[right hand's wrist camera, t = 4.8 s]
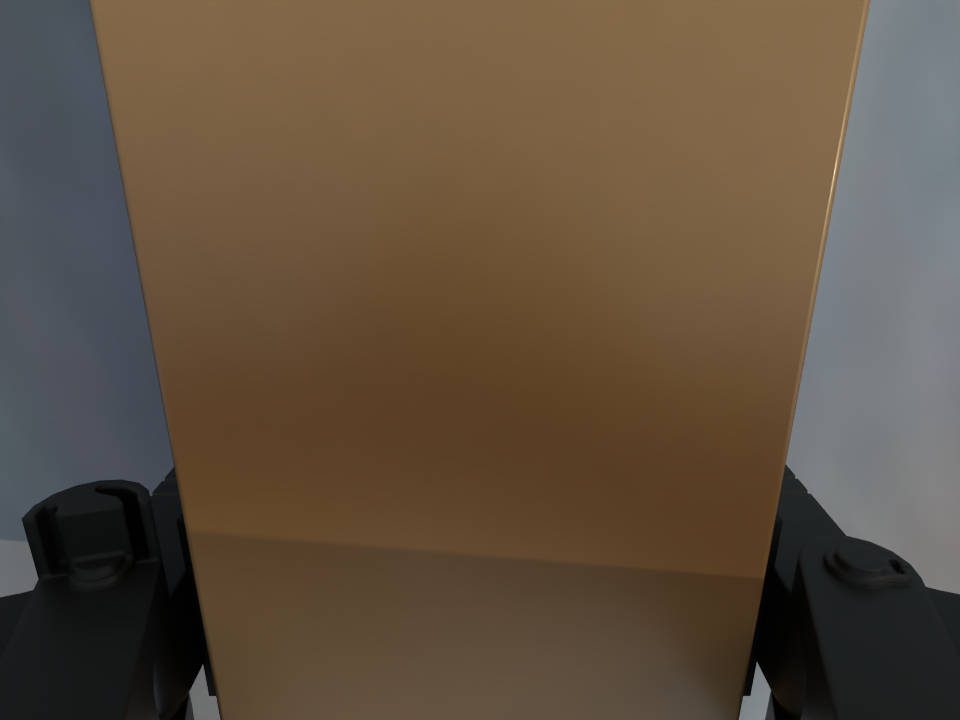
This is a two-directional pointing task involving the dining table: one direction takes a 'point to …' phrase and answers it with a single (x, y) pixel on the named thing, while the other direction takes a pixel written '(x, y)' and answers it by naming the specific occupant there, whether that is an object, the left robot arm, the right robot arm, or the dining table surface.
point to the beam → (479, 335)
